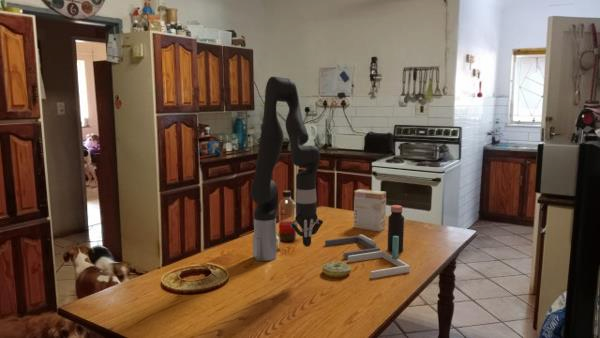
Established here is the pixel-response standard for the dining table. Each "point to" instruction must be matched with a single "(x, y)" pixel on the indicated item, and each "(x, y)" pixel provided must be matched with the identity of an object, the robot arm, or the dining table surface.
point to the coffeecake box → (369, 209)
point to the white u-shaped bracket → (392, 258)
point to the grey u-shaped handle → (360, 239)
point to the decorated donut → (336, 269)
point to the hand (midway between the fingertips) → (306, 245)
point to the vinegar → (395, 227)
